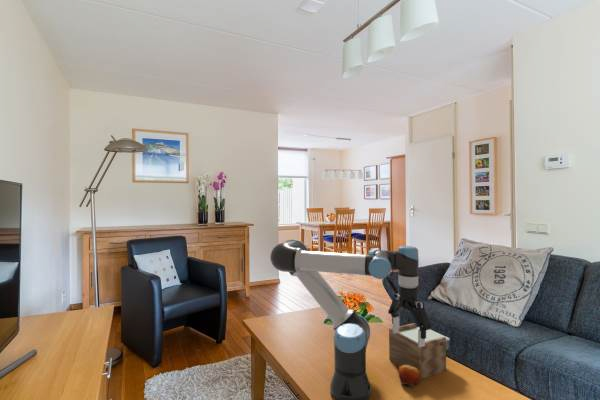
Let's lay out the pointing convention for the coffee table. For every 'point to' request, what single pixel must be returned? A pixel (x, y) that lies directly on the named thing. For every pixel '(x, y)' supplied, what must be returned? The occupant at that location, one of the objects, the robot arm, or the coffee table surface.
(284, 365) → the coffee table surface
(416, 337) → the trapdoor
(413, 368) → the fruit
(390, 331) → the brown wooden box
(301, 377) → the coffee table surface
